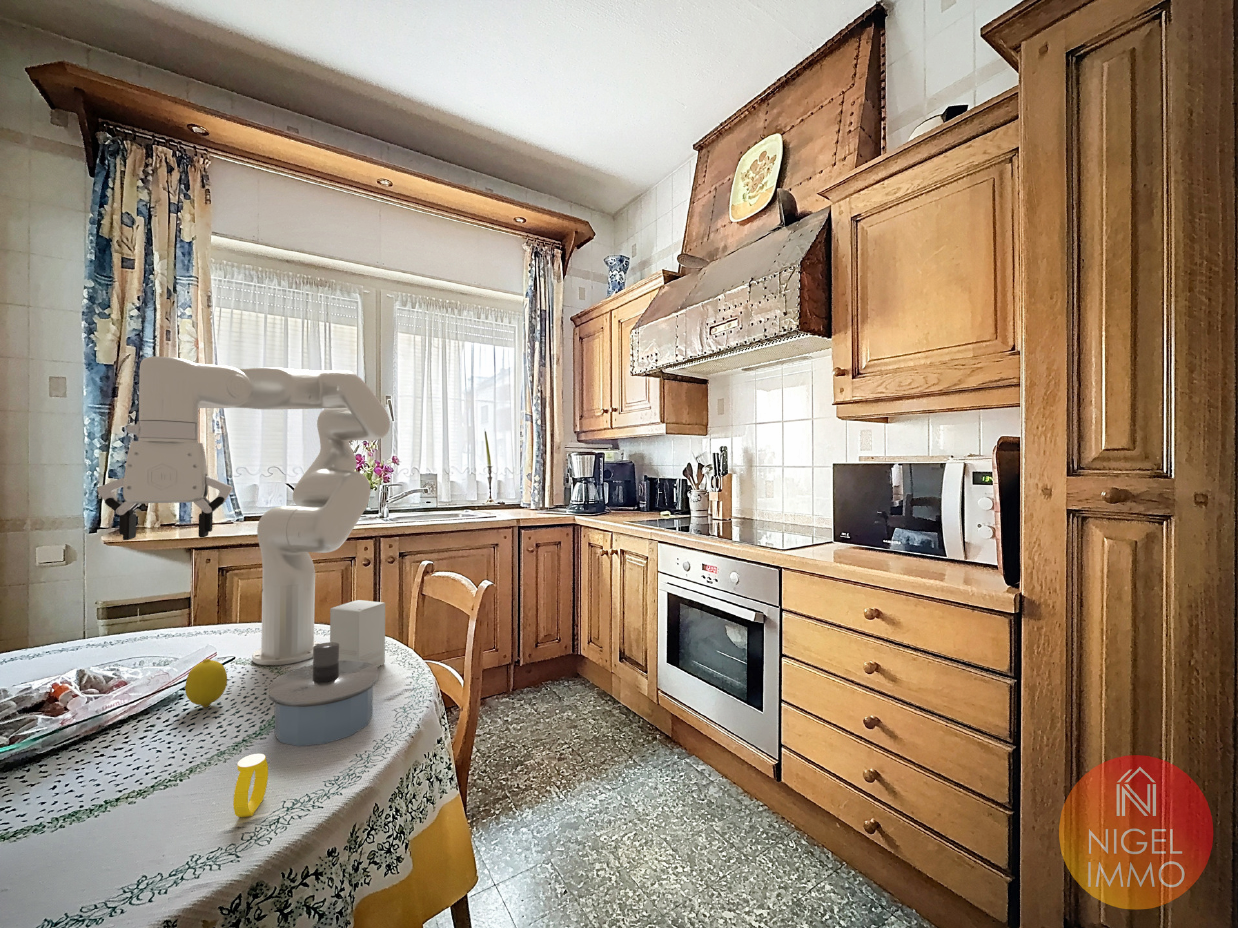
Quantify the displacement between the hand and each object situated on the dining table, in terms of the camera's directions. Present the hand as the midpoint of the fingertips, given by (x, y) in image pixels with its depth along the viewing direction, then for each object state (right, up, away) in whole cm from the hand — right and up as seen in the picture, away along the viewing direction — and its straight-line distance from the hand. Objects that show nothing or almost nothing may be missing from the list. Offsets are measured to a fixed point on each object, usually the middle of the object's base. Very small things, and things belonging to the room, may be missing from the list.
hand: (167, 537), depth 88 cm
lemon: (+5, -29, +1) cm, 29 cm away
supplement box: (+22, -29, +19) cm, 41 cm away
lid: (+28, -23, -4) cm, 36 cm away
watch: (+31, -29, -25) cm, 49 cm away
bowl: (+28, -29, -4) cm, 40 cm away
